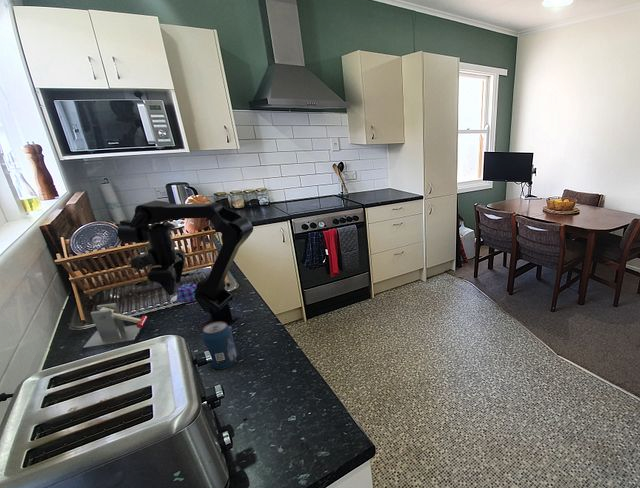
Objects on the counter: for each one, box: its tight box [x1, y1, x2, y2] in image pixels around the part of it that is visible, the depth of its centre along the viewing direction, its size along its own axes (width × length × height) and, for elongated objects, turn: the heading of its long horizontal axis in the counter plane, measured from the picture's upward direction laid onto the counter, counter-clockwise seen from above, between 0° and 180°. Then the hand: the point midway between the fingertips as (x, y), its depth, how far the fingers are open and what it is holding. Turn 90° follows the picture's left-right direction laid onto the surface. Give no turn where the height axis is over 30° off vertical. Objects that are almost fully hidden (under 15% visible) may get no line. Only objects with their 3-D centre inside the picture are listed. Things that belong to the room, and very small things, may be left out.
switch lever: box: [100, 307, 148, 328], centre depth 105 cm, size 11×5×2 cm
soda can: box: [201, 321, 238, 370], centre depth 96 cm, size 7×7×12 cm
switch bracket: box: [82, 302, 144, 350], centre depth 104 cm, size 12×9×11 cm
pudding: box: [170, 283, 198, 306], centre depth 129 cm, size 12×12×5 cm
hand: (174, 288), depth 112 cm, fingers open, 9 cm apart
